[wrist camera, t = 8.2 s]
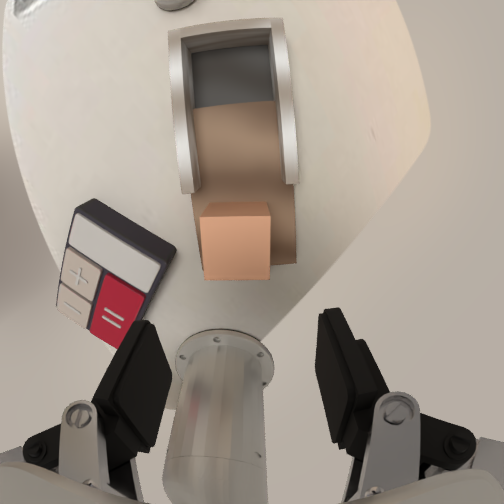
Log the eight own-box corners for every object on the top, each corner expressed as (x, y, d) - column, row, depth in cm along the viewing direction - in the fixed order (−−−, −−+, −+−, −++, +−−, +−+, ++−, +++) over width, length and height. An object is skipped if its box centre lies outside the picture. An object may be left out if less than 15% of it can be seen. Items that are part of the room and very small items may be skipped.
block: (266, 254, 26) (269, 279, 21) (212, 255, 26) (204, 280, 21) (266, 201, 24) (270, 216, 19) (209, 202, 24) (199, 217, 19)
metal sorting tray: (294, 256, 27) (301, 277, 23) (205, 264, 28) (197, 285, 23) (277, 37, 19) (282, 17, 15) (181, 47, 19) (168, 30, 15)
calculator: (52, 311, 26) (70, 207, 21) (68, 293, 30) (93, 196, 25) (123, 357, 29) (165, 267, 23) (135, 334, 33) (178, 247, 27)
